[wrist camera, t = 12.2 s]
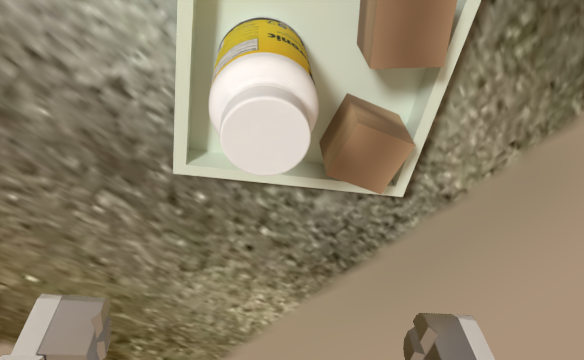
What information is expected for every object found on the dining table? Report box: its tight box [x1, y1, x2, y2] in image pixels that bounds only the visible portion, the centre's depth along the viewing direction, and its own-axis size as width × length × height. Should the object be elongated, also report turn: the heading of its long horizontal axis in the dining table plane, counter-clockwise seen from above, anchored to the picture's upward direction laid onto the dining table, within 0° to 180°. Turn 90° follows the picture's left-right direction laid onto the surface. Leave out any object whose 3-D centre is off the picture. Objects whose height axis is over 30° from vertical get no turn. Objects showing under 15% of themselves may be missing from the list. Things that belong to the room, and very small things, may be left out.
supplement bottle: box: [209, 16, 319, 176], centre depth 23 cm, size 5×5×10 cm
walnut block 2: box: [319, 93, 416, 194], centre depth 29 cm, size 4×4×4 cm
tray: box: [173, 0, 481, 197], centre depth 27 cm, size 16×16×2 cm
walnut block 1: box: [357, 0, 457, 69], centre depth 24 cm, size 4×4×4 cm
